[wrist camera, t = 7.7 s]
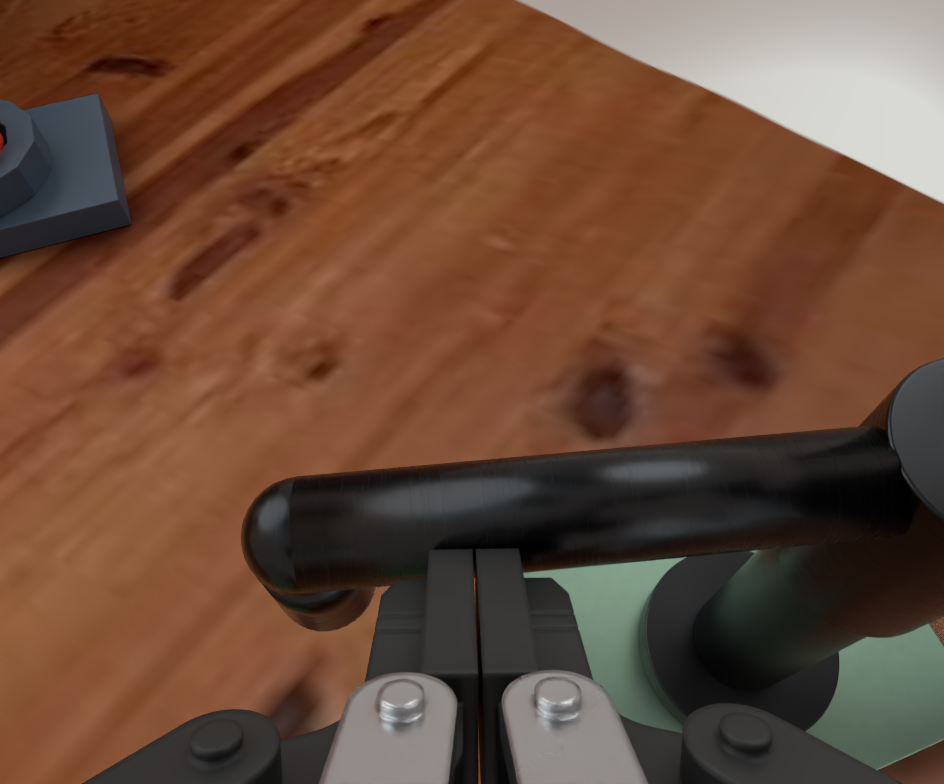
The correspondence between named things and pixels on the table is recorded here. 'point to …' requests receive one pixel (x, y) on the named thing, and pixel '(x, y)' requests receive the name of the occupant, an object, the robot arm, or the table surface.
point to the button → (1, 142)
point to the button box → (58, 174)
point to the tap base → (752, 653)
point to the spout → (639, 516)
